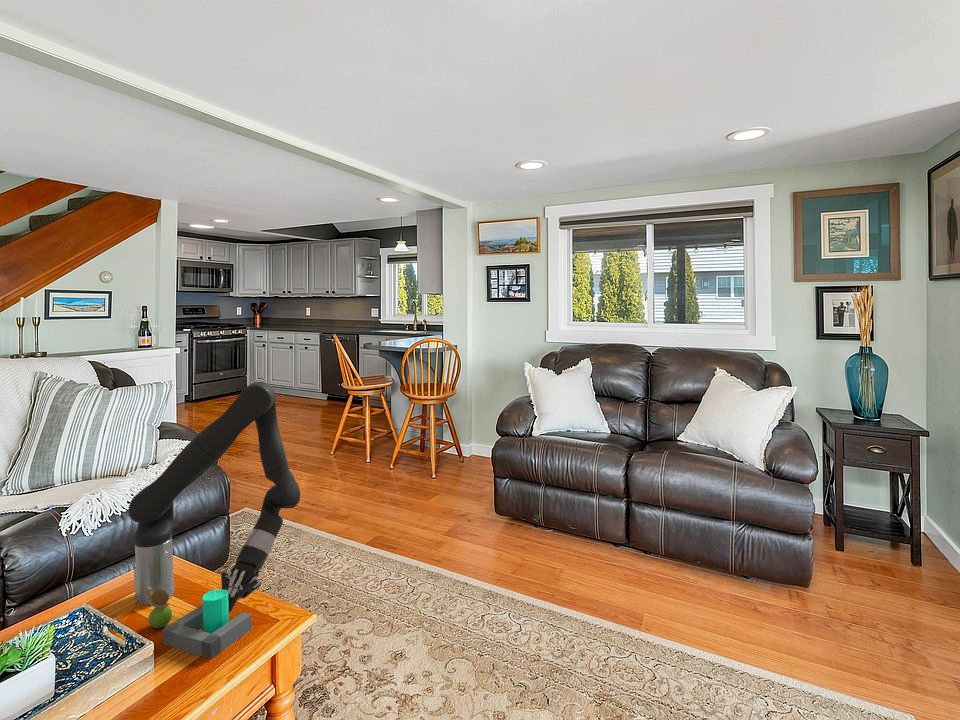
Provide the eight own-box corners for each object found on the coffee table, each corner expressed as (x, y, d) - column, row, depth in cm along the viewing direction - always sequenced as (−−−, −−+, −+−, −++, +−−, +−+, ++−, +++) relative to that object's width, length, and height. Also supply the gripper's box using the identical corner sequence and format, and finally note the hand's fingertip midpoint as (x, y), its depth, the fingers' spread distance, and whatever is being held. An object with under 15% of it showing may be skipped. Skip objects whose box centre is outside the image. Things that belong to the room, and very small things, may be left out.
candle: (220, 640, 132) (219, 595, 131) (198, 639, 132) (196, 594, 131) (233, 626, 138) (232, 583, 137) (212, 625, 138) (211, 582, 137)
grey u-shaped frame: (163, 644, 130) (162, 629, 130) (206, 616, 142) (206, 602, 142) (211, 659, 125) (210, 643, 124) (251, 629, 137) (251, 614, 137)
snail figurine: (153, 619, 140) (151, 577, 139) (176, 620, 140) (175, 578, 139) (140, 632, 135) (138, 588, 134) (164, 632, 135) (162, 589, 134)
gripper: (231, 540, 148) (196, 603, 137) (267, 547, 143) (235, 613, 133) (245, 550, 153) (213, 611, 143) (281, 557, 149) (251, 621, 138)
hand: (224, 612), depth 138 cm, fingers closed
